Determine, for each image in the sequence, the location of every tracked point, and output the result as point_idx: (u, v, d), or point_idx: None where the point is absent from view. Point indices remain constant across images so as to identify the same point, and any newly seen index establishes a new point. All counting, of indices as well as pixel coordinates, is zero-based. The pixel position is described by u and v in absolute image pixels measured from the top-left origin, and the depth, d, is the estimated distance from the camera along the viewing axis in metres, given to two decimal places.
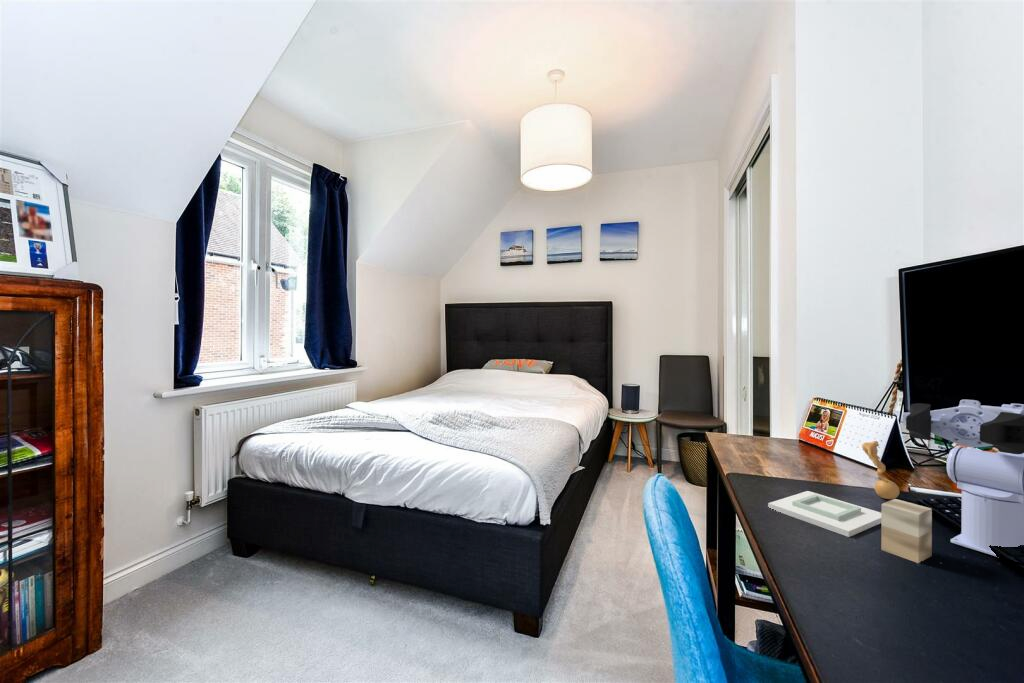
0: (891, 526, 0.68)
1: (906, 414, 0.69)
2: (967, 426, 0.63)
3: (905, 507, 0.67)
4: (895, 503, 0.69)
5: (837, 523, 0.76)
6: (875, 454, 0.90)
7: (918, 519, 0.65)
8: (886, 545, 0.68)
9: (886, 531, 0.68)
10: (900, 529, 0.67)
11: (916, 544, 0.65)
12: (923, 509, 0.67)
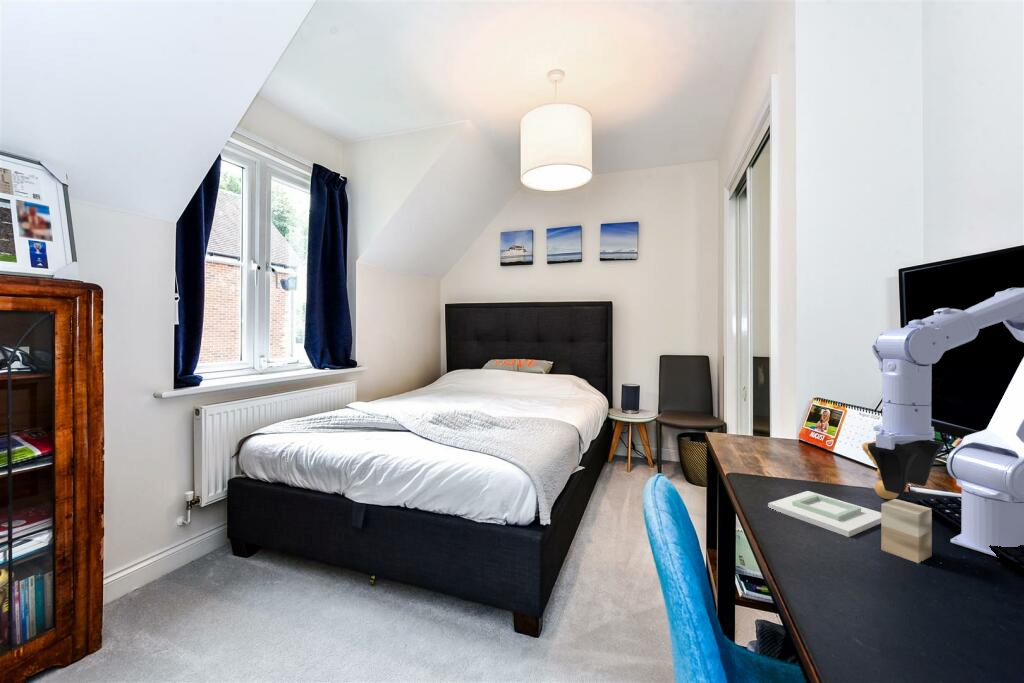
0: (891, 526, 0.68)
1: None
2: None
3: (905, 507, 0.67)
4: (895, 503, 0.69)
5: (837, 523, 0.76)
6: None
7: (918, 519, 0.65)
8: (886, 545, 0.68)
9: (886, 531, 0.68)
10: (900, 529, 0.67)
11: (916, 544, 0.65)
12: (923, 508, 0.67)
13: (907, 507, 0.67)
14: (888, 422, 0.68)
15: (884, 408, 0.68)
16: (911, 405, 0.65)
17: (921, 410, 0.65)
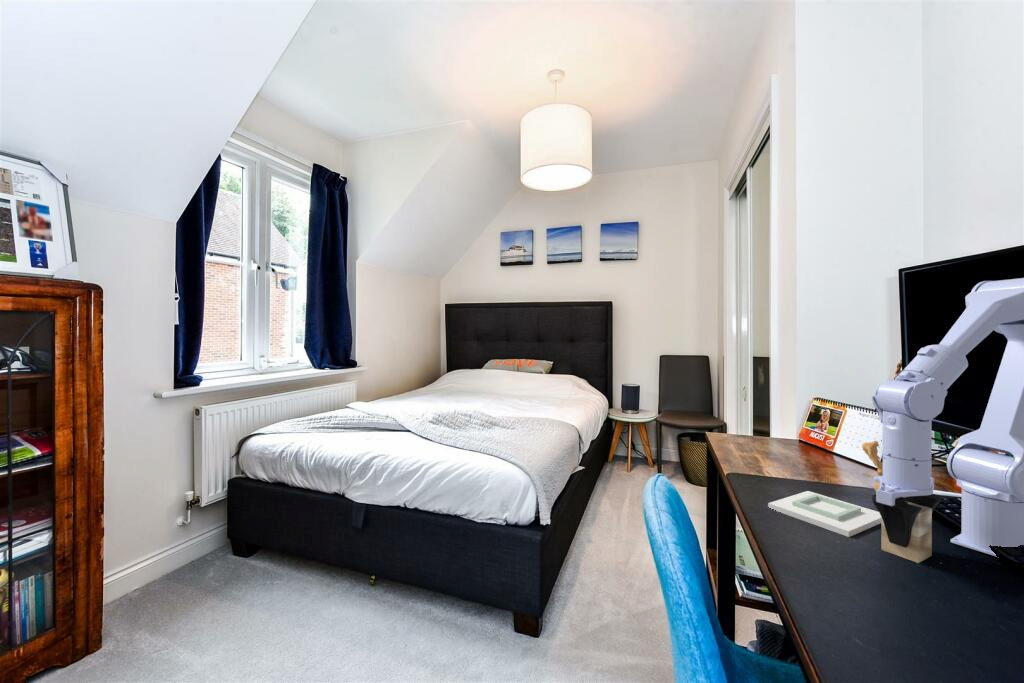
0: None
1: None
2: None
3: None
4: None
5: (837, 523, 0.76)
6: (875, 454, 0.90)
7: (918, 518, 0.65)
8: (886, 545, 0.68)
9: None
10: None
11: (916, 544, 0.65)
12: (923, 508, 0.67)
13: None
14: (888, 475, 0.68)
15: (884, 460, 0.69)
16: (911, 460, 0.65)
17: (921, 465, 0.65)
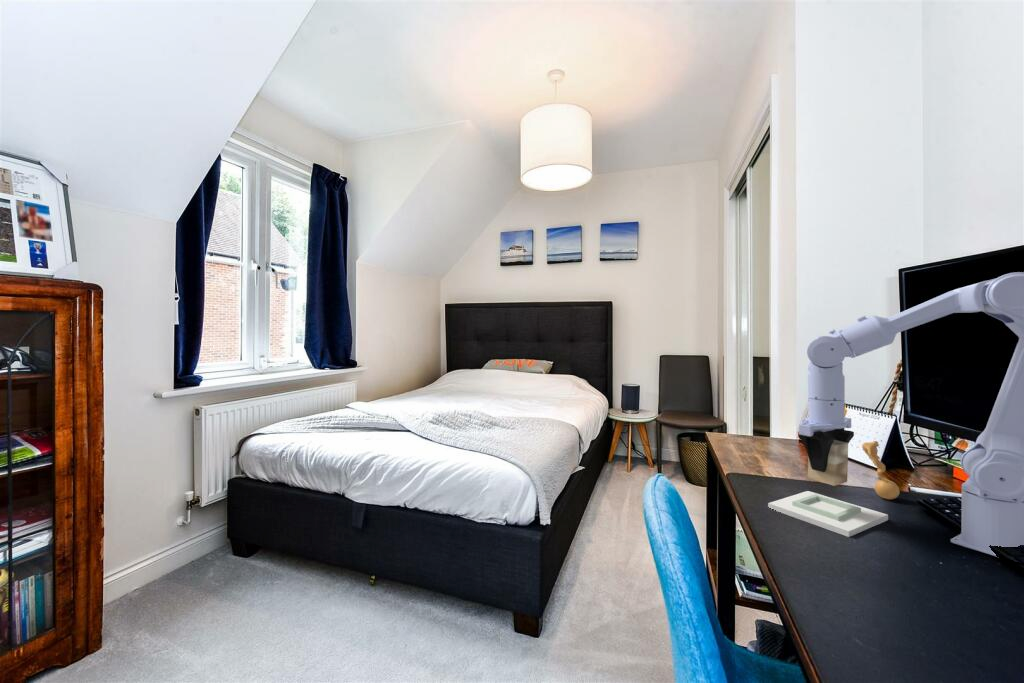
0: None
1: None
2: None
3: None
4: None
5: (837, 523, 0.76)
6: (875, 454, 0.90)
7: (835, 449, 0.79)
8: (811, 473, 0.83)
9: None
10: None
11: (833, 470, 0.79)
12: (841, 443, 0.81)
13: None
14: (811, 414, 0.82)
15: (808, 403, 0.83)
16: (827, 400, 0.80)
17: (835, 404, 0.79)
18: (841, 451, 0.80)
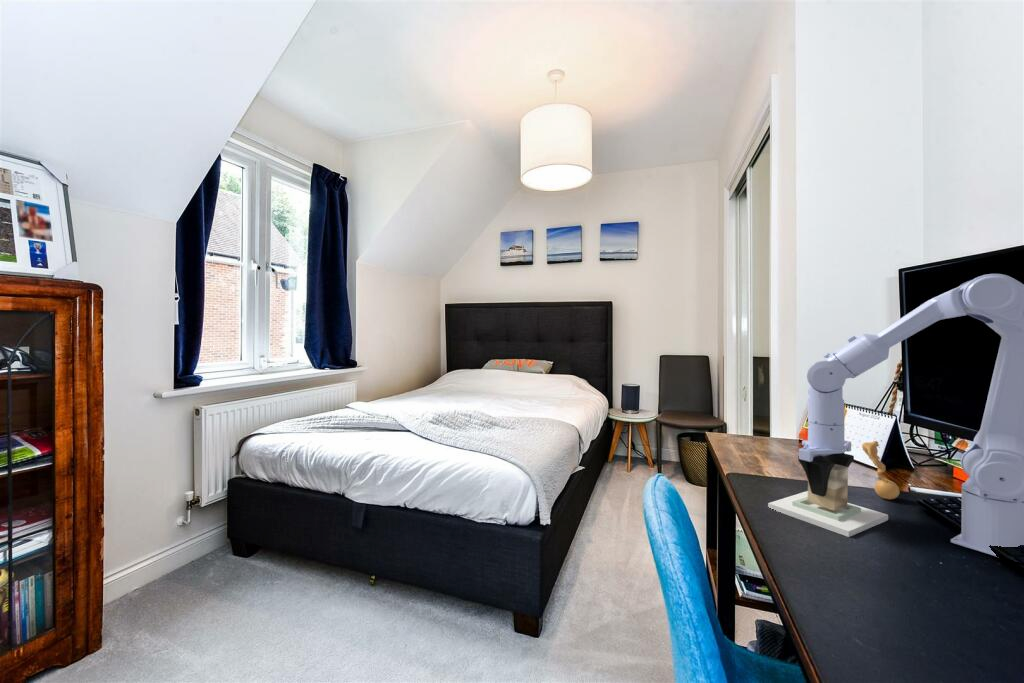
0: None
1: None
2: (824, 455, 0.82)
3: None
4: None
5: (837, 523, 0.76)
6: (875, 454, 0.90)
7: (835, 474, 0.79)
8: (811, 497, 0.83)
9: None
10: None
11: (832, 495, 0.79)
12: (841, 467, 0.81)
13: None
14: (811, 438, 0.82)
15: (808, 427, 0.83)
16: (827, 425, 0.80)
17: (835, 429, 0.80)
18: (841, 476, 0.80)
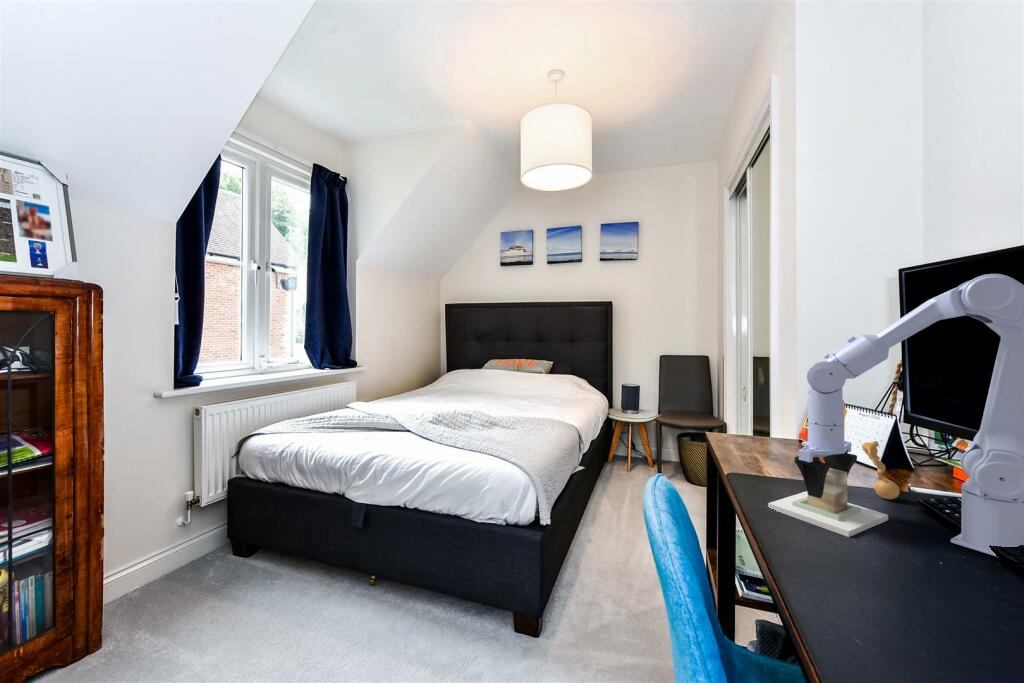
0: None
1: None
2: (824, 455, 0.82)
3: None
4: None
5: (837, 523, 0.76)
6: (875, 454, 0.90)
7: (834, 479, 0.79)
8: (811, 503, 0.83)
9: None
10: None
11: (832, 500, 0.80)
12: (840, 472, 0.81)
13: None
14: (811, 439, 0.82)
15: (808, 427, 0.83)
16: (827, 425, 0.80)
17: (835, 430, 0.80)
18: (840, 481, 0.80)
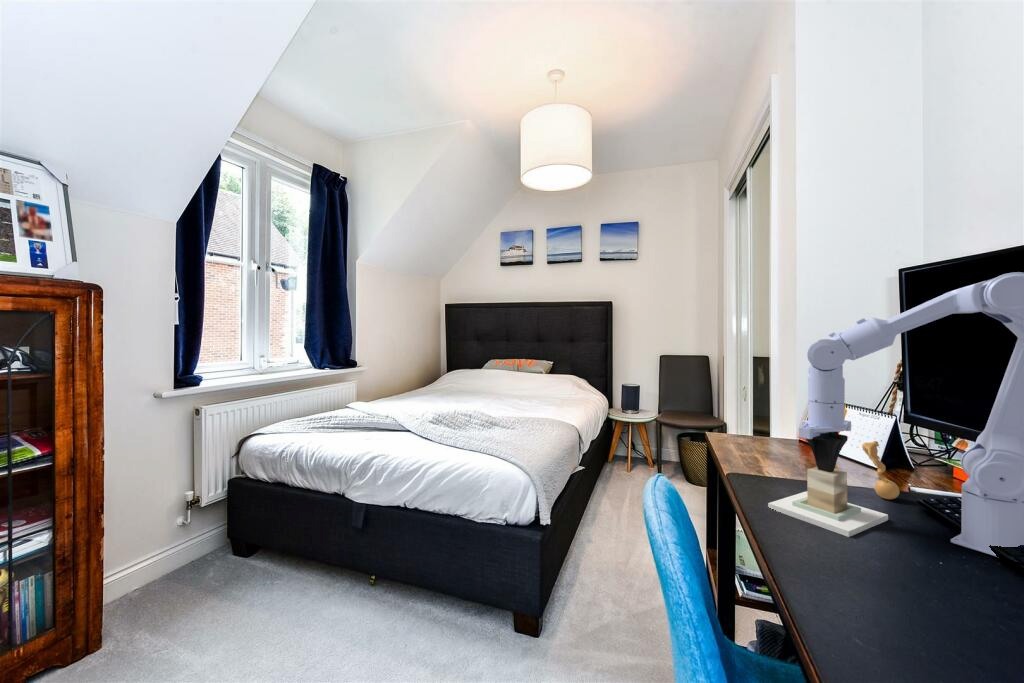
0: (814, 487, 0.82)
1: None
2: None
3: (825, 471, 0.82)
4: None
5: (837, 523, 0.76)
6: (875, 454, 0.90)
7: (833, 479, 0.79)
8: (811, 503, 0.83)
9: (811, 491, 0.83)
10: (821, 489, 0.81)
11: (832, 500, 0.80)
12: (840, 472, 0.81)
13: None
14: (811, 417, 0.82)
15: (808, 405, 0.83)
16: (827, 403, 0.80)
17: (835, 407, 0.79)
18: (840, 481, 0.80)
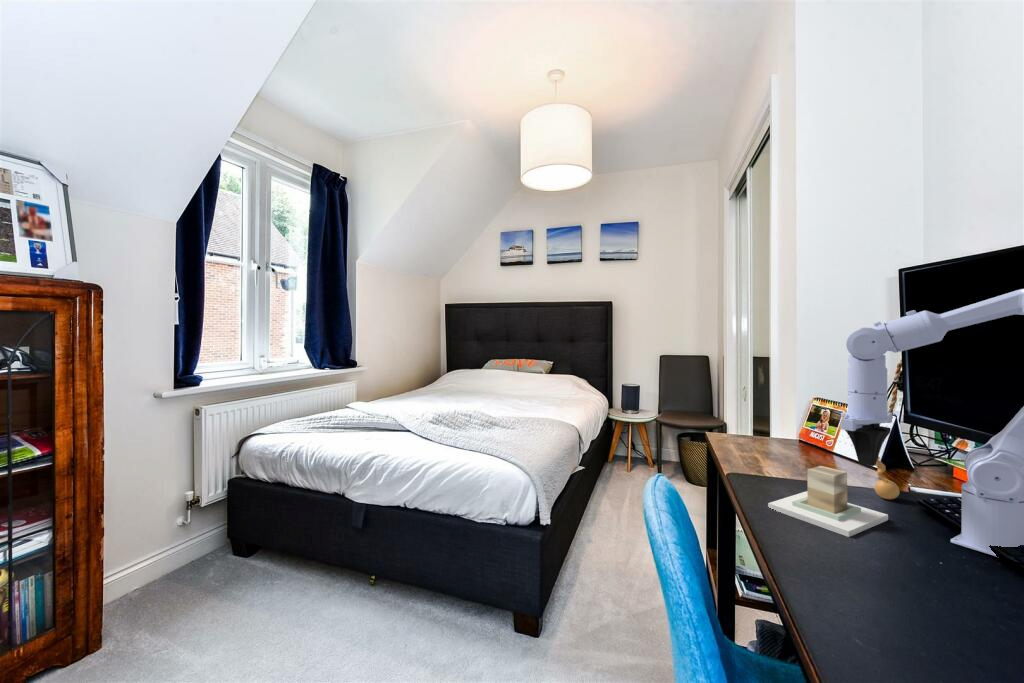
0: (814, 487, 0.82)
1: None
2: None
3: (826, 471, 0.82)
4: (819, 468, 0.84)
5: (837, 523, 0.76)
6: None
7: (834, 479, 0.79)
8: (811, 503, 0.83)
9: (811, 491, 0.83)
10: (821, 489, 0.81)
11: (832, 500, 0.80)
12: (840, 472, 0.81)
13: (827, 471, 0.82)
14: (852, 408, 0.80)
15: (849, 397, 0.81)
16: (870, 394, 0.77)
17: (878, 398, 0.77)
18: (840, 481, 0.80)
